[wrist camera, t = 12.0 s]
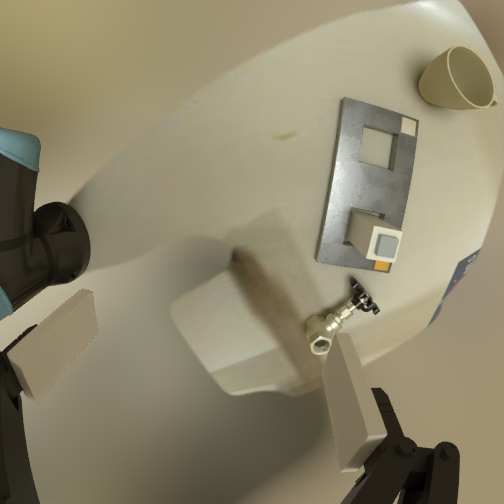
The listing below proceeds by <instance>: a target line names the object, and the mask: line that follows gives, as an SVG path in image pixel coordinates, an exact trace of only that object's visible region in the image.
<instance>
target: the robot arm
mask: <svg viewBox="0 0 504 504" xmlns="http://www.w3.org/2000/svg"><path fill="white" fill-rule="evenodd" d="M40 149H41V145H40V141H39V139H38V138H37V137H36V136H34V135H32V134H28V133H24V132H20V131H15V130H10V129H4V128H0V320H2V319H3V318H5V317H7V316H8V315H11V314H13V312H15V311H16V310H17V309H18V308H20V307H21V306H22V305H24V304H25V303H26V302H27V301H29V300H30V299H31V298H33V297H34V296H35V295H37V294H38V293H39V292H41V291H42V290H43V289H45V288H46V287H48V286H53V285H60V284H66V283H69V282H72V281H73V280H75V279H76V278H78V277H79V276H80V275H82V274H83V272H84V271H85V269H86V267H87V265H88V262H89V257H90V242H89V237H88V233H87V230H86V227H85V225H84V223H83V221H82V219H81V218H80V216H79V215H78V214H77V212H76V211H75V210H74V209H73V208H71V207H70V206H69V205H67V204H65V203H62V202H52V203H48V204H45V205H43V206H41V207H39V208H38V209H37V210H36V211H35V212H34V199H35V190H36V182H37V175H38V172H39V168H38V166H39V156H40ZM97 333H98V328H97V322H96V315H95V308H94V300H93V292H92V291H89V290H85V289H81V290H80V291H79V292H77V293H76V294H75V295H74V296H72V297H71V298H70V299H68V300H67V301H66V302H65V303H64V304H62V305H61V306H60V307H59V308H58V309H56V310H55V311H54V312H53V313H52V314H50V315H49V316H48V317H47V318H46V319H44V320H43V322H41V323H40V324H39V325H37V324H36V325H34V326H31V327H29V328H28V329H27V330H25V331H24V332H23V333H22V335H20V336H19V337H18V338H17V339H15V340H14V341H13V342H12V343H11V344H10V345H8V346H7V347H6V348H5V349H4V350H3V351H2V352H0V504H40V502H39V499H38V496H37V492H36V488H35V484H34V480H33V476H32V472H31V467H30V462H29V457H28V452H27V445H26V439H25V432H24V424H23V414H22V400H21V396H20V392H21V391H22V390H23V391H24V394H25V396H26V397H27V399H29V400H30V401H32V402H34V403H36V404H37V405H38V404H39V403H40V402H41V400H42V399H43V398H44V397H45V395H46V394H47V393H48V392H49V390H50V389H51V388H52V386H53V385H54V384H55V383H56V381H57V380H58V379H59V378H60V377H61V375H62V374H63V373H64V372H65V370H66V369H67V368H68V367H69V366H70V364H71V363H72V362H73V361H74V360H75V358H76V357H77V356H78V355H79V354H80V352H81V351H82V350H83V349H84V348H85V347H86V345H87V344H88V343H89V342H90V341H91V340H92V339H93V337H94V336H95V335H96V334H97ZM321 373H322V378H323V383H324V388H325V392H326V397H327V402H328V407H329V412H330V417H331V422H332V427H333V433H334V438H335V444H336V449H337V455H338V461H339V466H340V472H348V471H349V472H350V471H358V470H359V469H360V467H361V466H362V465H363V464H364V468H365V472H364V473H363V474H362V475H361V477H359V478H358V479H357V481H356V484H355V485H354V487H353V488H352V489H351V491H350V492H349V493H348V495H347V496H346V497H345V498H344V500H343V501H342V502H341V504H393V502H394V500H395V499H396V497H397V495H398V494H399V492H400V490H401V492H400V495H399V499H398V503H397V504H457V498H458V486H459V466H460V454H459V450H458V449H457V447H456V446H455V445H454V444H453V443H450V442H441V443H439V444H438V445H437V446H436V447H435V448H434V449H432V448H423V447H417V445H416V443H415V442H414V441H413V440H411V439H410V438H407V437H405V436H404V435H403V432H402V429H401V427H400V424H399V422H398V419H397V417H396V414H395V412H394V409H393V407H392V405H391V403H390V400H389V397H388V395H387V394H386V393H385V392H384V391H383V390H382V389H381V388H371V387H370V385H369V382H368V380H367V377H366V375H365V372H364V369H363V367H362V364H361V362H360V359H359V357H358V354H357V352H356V349H355V347H354V345H353V342H352V340H351V337H350V335H349V334H347V333H336V332H335V335H334V338H333V341H332V344H331V346H330V349H329V352H328V355H327V358H326V361H325V363H324V366H323V369H322V371H321Z"/></svg>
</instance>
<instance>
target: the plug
mask: <svg viewBox="0 0 504 504" xmlns="http://www.w3.org/2000/svg"><path fill="white" fill-rule="evenodd" d="M402 233H403V232H402V231H401V230H399V229H397V228H396V227H394V226H392V225H390V224H389V223H387V222H385V221H383V220H381V219H380V218H378V217H376V216H374V215H369V214H364V213H359V212H354V211H350V216H349V221H348V226H347V230H346V235H345V237H346V238H347V239H348V240H349V241H350V242H351V243H352V244H353V245H354V246H355V247H356V248H357V249H358V250H359V252H360V253H361V254H362V255H363V256H364V257H365V258H366V259H372V260H378V261H384V262H391V263H395V260H396V256H397V253H398V249H399V245H400V241H401V237H402Z"/></svg>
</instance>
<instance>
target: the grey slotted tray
mask: <svg viewBox="0 0 504 504" xmlns="http://www.w3.org/2000/svg"><path fill="white" fill-rule="evenodd" d="M418 124H419V120H416V119H413V118H411V117H408V116H405V115H402V114H399V113H397V112H394V111H391V110H387V109H384V108H381V107H378V106H375V105H371V104H368V103H364V102H361V101H357V100H353V99H350V98H346V97H344V98H343V99H342V100H341V106H340V114H339V122H338V129H337V136H336V143H335V150H334V157H333V163H332V170H331V176H330V182H329V187H328V193H327V199H326V204H325V210H324V215H323V220H322V225H321V230H320V235H319V240H318V245H317V250H316V255H315V260H316V262H317V263H323V264H330V265H337V266H344V267H351V268H357V269H364V270H371V271H378V272H385V273H389V272H390V269H391V265H392V263H391V262H384V261H378V260H372V259H366V258H365V257H364V256H363V255H362V254H361V253H360V252H359V250H358V249H357V248H356V247H355V246H354V245H353V244H352V243H348V242H343V241H344V236H345V231H346V227H347V222H348V217H349V212H350V207H355V208H359V209H364V210H369V211H374V212H378V213H380V216H379V218H380V219H381V220H383V221H385V222H387V223H389V224H390V225H392V226H394V227H396V228H397V229H399V230H401V227H402V222H403V218H404V213H405V209H406V204H407V199H408V194H409V189H410V183H411V177H412V171H413V165H414V158H415V150H416V142H417V134H418ZM363 127H367V128H371V129H374V130H378V131H381V132H384V133H388V134H391V135H393V140H392V148H391V155H390V162H389V168H388V169H384V168H380V167H376V166H372V165H368V164H364V163H360V162H359V155H360V149H361V142H362V134H363Z"/></svg>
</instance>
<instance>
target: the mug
mask: <svg viewBox="0 0 504 504" xmlns="http://www.w3.org/2000/svg"><path fill="white" fill-rule="evenodd" d="M418 89H419V92H420V94H421V96H422V97H423V99H424V100H425V101H427V102H428V103H430V104H434V105H437V106H441V107H444V108H448V109H455V110H464V109H484V108H487V107H489V106H496V105H497V104H498V101H499V99H498V95H497V94H496V93H495V86H494V81H493V78H492V75H491V73H490V70H489V68H488V67H487V65H486V63H485V62H484V61H483V59H482V58H481V57H480V56H479V55H478V54H477V53H476V52H475V51H474V50H472V49H471V48H469V47H467V46H464V45H455V46H453V47H451V48H450V49H448V50H447V51H445V52H444V53H442V54H441V55H439V56H438V57H436V58H435V59H434V60H433V61H432V62H431V63H430V64H429V65H428V66H427V68H426V69H425V71H424V73H423V75H422V76H421V78H420V80H419V82H418Z"/></svg>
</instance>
